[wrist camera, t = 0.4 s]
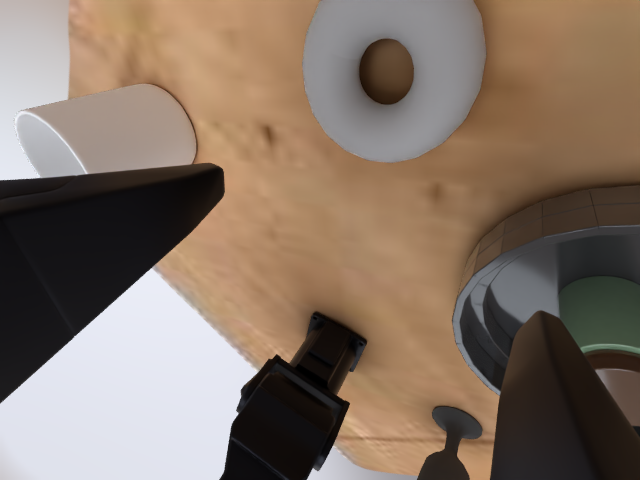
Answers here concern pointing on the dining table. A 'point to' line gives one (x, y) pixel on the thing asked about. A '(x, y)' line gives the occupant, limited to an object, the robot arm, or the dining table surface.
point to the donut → (428, 84)
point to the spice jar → (607, 334)
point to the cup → (107, 133)
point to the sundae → (450, 445)
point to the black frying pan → (541, 268)
